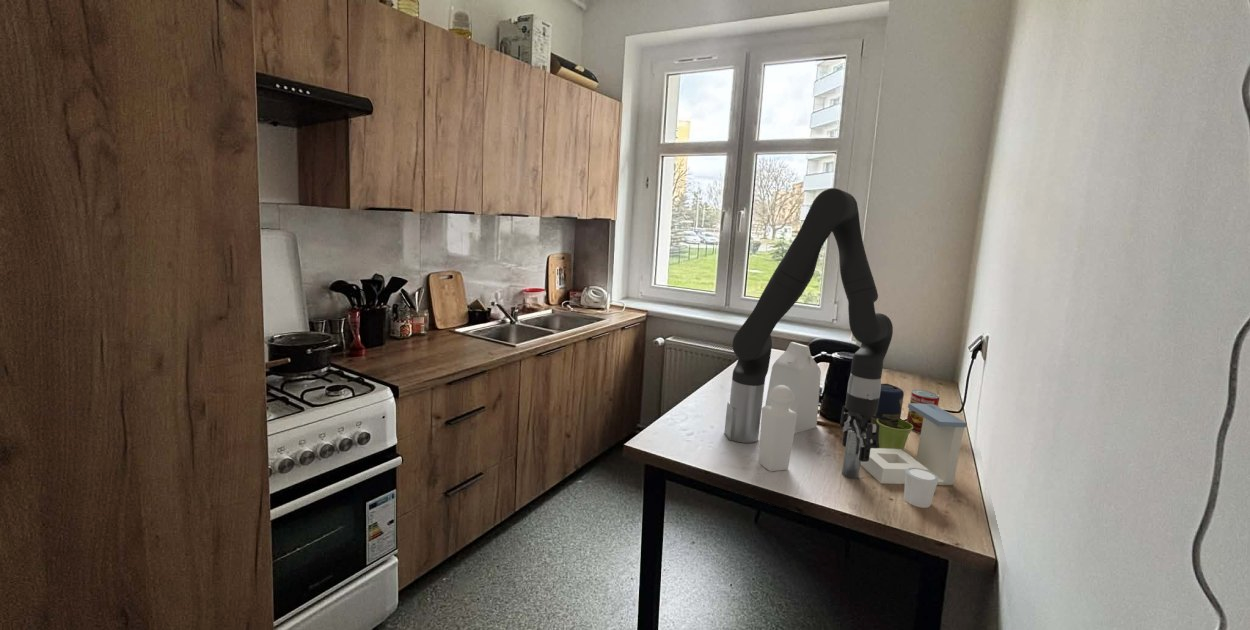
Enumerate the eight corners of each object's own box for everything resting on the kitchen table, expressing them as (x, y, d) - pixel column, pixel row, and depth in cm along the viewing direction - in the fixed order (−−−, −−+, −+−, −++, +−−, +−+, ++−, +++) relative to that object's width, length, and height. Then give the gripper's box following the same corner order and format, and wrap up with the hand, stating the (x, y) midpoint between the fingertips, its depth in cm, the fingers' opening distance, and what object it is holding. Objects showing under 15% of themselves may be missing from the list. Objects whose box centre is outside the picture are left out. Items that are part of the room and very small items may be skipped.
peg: (846, 478, 135) (853, 434, 132) (838, 471, 139) (845, 427, 136) (861, 479, 135) (868, 434, 133) (853, 471, 139) (860, 428, 137)
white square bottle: (775, 459, 143) (785, 380, 139) (791, 470, 137) (801, 389, 133) (755, 461, 141) (764, 382, 137) (769, 473, 135) (780, 390, 131)
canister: (893, 450, 153) (903, 391, 150) (858, 441, 158) (867, 384, 155) (897, 440, 161) (907, 383, 158) (864, 432, 166) (872, 376, 163)
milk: (816, 426, 168) (827, 347, 163) (793, 433, 162) (804, 350, 157) (785, 414, 178) (795, 338, 173) (762, 419, 171) (772, 341, 167)
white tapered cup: (902, 504, 124) (907, 476, 122) (899, 491, 130) (903, 464, 129) (936, 512, 121) (941, 483, 120) (930, 498, 128) (935, 471, 126)
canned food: (901, 427, 173) (907, 392, 170) (911, 422, 178) (917, 388, 176) (927, 435, 167) (934, 399, 165) (936, 430, 172) (943, 395, 170)
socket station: (881, 484, 133) (892, 420, 130) (856, 460, 146) (865, 401, 142) (954, 486, 134) (966, 422, 131) (922, 462, 147) (933, 404, 144)
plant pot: (897, 461, 147) (902, 431, 145) (865, 448, 154) (870, 420, 153) (914, 454, 152) (919, 425, 151) (883, 442, 160) (887, 414, 158)
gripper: (835, 383, 139) (828, 441, 142) (863, 402, 125) (854, 466, 128) (862, 384, 140) (855, 442, 143) (894, 402, 126) (884, 466, 129)
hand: (854, 453), depth 136 cm, fingers open, 8 cm apart
